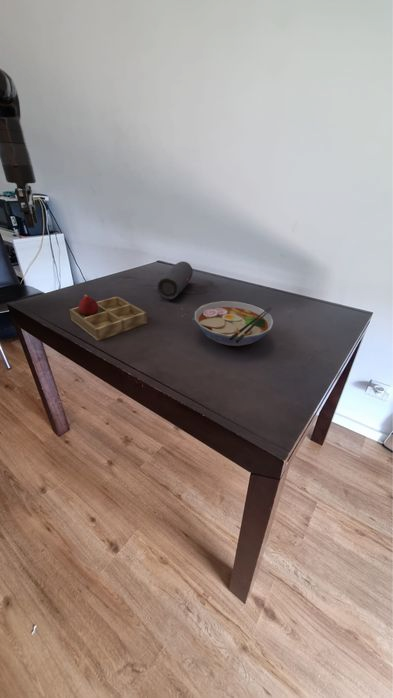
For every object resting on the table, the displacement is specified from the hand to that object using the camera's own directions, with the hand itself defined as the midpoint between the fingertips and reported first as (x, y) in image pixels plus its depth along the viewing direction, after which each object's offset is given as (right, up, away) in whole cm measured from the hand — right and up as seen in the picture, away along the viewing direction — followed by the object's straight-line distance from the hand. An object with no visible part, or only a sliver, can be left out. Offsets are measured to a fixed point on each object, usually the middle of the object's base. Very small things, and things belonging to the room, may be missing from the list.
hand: (32, 225), depth 88 cm
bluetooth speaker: (+43, -15, +28) cm, 53 cm away
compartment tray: (+23, -30, +4) cm, 38 cm away
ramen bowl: (+62, -36, -2) cm, 71 cm away
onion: (+17, -29, +3) cm, 34 cm away
